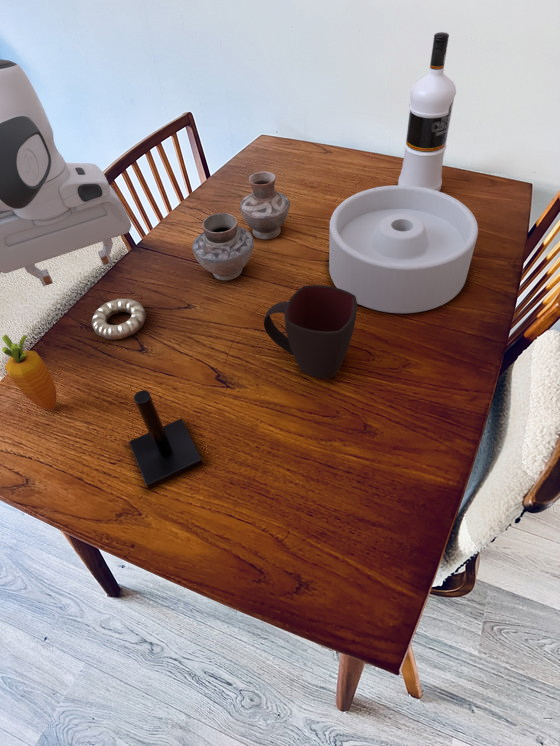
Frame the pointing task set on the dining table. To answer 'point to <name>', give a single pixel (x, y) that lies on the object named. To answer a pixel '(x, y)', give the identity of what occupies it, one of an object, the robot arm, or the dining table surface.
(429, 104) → the vodka
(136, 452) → the peg stand
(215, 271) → the pottery
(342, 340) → the cup
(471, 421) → the dining table surface
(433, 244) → the container
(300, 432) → the dining table surface
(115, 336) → the ring
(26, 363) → the carrot
